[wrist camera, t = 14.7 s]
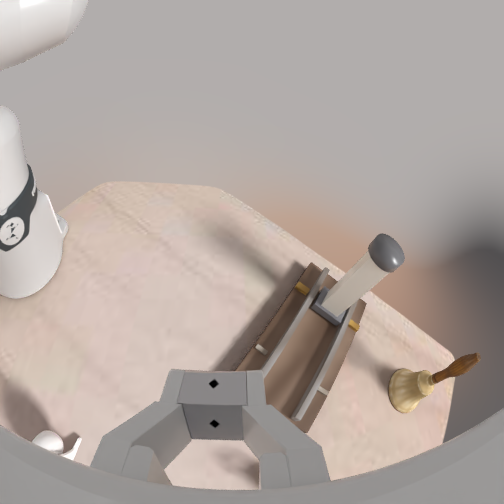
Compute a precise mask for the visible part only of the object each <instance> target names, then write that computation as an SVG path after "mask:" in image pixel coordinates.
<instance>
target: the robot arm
mask: <svg viewBox="0 0 504 504" xmlns="http://www.w3.org/2000/svg"><path fill="white" fill-rule="evenodd" d="M87 4H88V0H0V71H1V70H4V69H6V68H9V67H12V66H15V65H17V64H20V63H23V62H25V61H27V60H29V59H31V58H33V57H35V56H37V55H39V54H41V53H43V52H45V51H47V50H50V49H52V48H54V47H56V46H58V45H61V44H63V43H64V42H65V41H66V40H67V39H68V37H69V36H70V35H71V34H72V33H73V31H74V30H75V28H76V27H77V26H78V24H79V22H80V21H81V19H82V17H83V15H84V12H85V10H86V7H87ZM67 231H68V224H67V221H66V220H65V219H63V218H62V217H61V216H59V215H58V214H56V213H55V212H54V210H53V207H52V204H51V202H50V199H49V196H48V195H47V194H44V193H43V192H42V191H40V190H38V189H37V188H36V181H35V177H34V175H33V173H32V170H31V167H30V166H29V165H28V164H27V162H26V157H25V153H24V147H23V142H22V136H21V131H20V124H19V121H18V118H17V117H16V115H15V114H14V113H13V112H12V111H11V110H9V109H8V108H6V107H4V106H2V105H0V295H3V296H6V297H9V298H24V297H27V296H30V295H32V294H34V293H36V292H37V291H39V290H40V289H41V288H42V287H44V286H45V285H46V284H47V283H48V282H49V280H50V279H51V278H52V277H53V275H54V274H55V272H56V270H57V268H58V266H59V263H60V260H61V256H62V244H63V239H64V237H65V235H66V233H67ZM246 380H247V382H246ZM191 439H206V440H244V442H245V443H246V445H247V446H248V447H249V448H250V450H251V451H252V452H253V453H254V455H255V456H256V457H257V458H258V460H259V461H260V463H259V490H216V489H200V488H189V487H180V486H173V485H172V484H171V482H170V480H169V479H168V477H167V475H166V473H165V472H164V469H165V468H166V467H167V466H168V465H169V464H170V463H171V462H172V461H173V460H174V459H175V458H176V456H177V455H178V454H179V453H180V452H181V451H182V450H183V449H184V448H185V447H186V446H187V445H188V444H189V443H190V442H191ZM0 504H504V408H503V409H502V410H500V411H499V412H497V413H496V414H494V415H493V416H491V417H490V418H488V419H487V420H485V421H483V422H482V423H480V424H478V425H477V426H475V427H474V428H472V429H470V430H468V431H466V432H465V433H463V434H461V435H459V436H457V437H455V438H454V439H452V440H450V441H448V442H446V443H443V444H441V445H439V446H437V447H435V448H433V449H431V450H428V451H426V452H424V453H421V454H419V455H417V456H414V457H412V458H409V459H406V460H404V461H401V462H398V463H395V464H392V465H389V466H386V467H383V468H380V469H377V470H374V471H370V472H367V473H363V474H359V475H355V476H351V477H347V478H343V479H338V480H333V481H330V477H329V473H328V470H327V466H326V462H325V458H324V455H323V451H322V447H321V446H320V445H319V444H317V443H316V442H315V441H314V440H312V439H311V438H310V437H309V436H307V435H306V434H305V433H304V432H302V431H301V430H300V429H299V428H298V427H296V426H295V425H294V424H293V423H292V422H290V421H289V420H288V419H287V418H286V417H285V416H283V415H282V414H281V413H280V412H279V411H278V410H277V409H276V408H274V407H273V406H272V405H266V396H265V387H264V378H263V371H262V370H251V371H247V372H246V371H197V370H179V369H171V370H170V371H169V374H168V377H167V380H166V383H165V386H164V389H163V392H162V395H161V398H160V401H159V402H154V403H152V404H151V405H149V406H148V407H146V408H145V409H144V410H142V411H141V412H139V413H138V414H136V415H135V416H133V417H132V418H130V419H129V420H127V421H126V422H124V423H123V424H121V425H120V426H118V427H117V428H115V429H114V430H112V431H110V432H109V433H107V434H106V435H104V436H103V437H102V440H101V442H100V444H99V446H98V449H97V451H96V453H95V456H94V458H93V461H92V463H91V465H90V466H87V465H84V464H81V463H79V462H76V461H73V460H71V459H68V458H65V457H63V456H60V455H58V454H56V453H53V452H51V451H49V450H47V449H45V448H42V447H40V446H38V445H36V444H34V443H32V442H30V441H28V440H26V439H24V438H22V437H21V436H19V435H17V434H15V433H13V432H12V431H10V430H8V429H7V428H5V427H3V426H2V425H0Z"/></svg>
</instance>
